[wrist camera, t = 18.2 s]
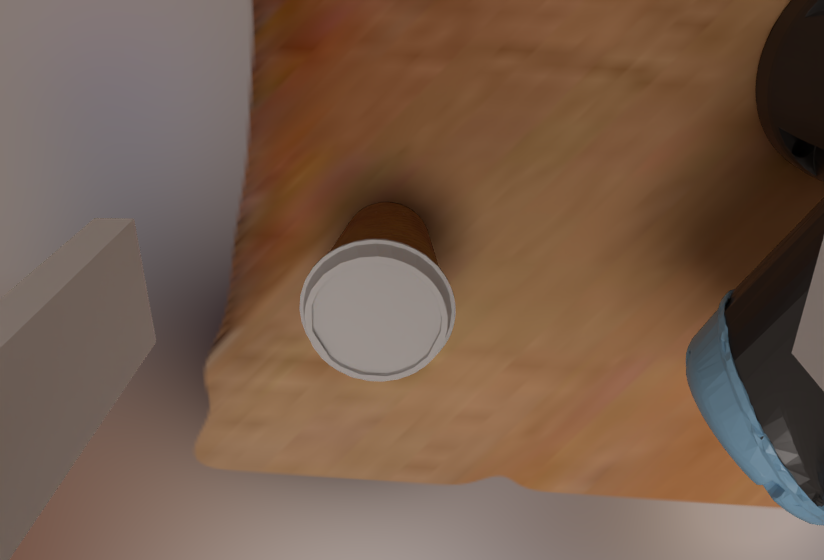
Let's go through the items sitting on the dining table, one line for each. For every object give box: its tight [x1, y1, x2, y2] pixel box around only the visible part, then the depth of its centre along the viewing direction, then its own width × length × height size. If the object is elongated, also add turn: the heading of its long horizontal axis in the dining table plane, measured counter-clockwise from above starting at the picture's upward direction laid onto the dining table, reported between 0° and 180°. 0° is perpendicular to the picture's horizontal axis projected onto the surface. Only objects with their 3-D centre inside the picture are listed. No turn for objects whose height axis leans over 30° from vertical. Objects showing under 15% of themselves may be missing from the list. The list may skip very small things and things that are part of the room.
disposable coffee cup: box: [300, 202, 455, 381], centre depth 48 cm, size 10×10×12 cm
